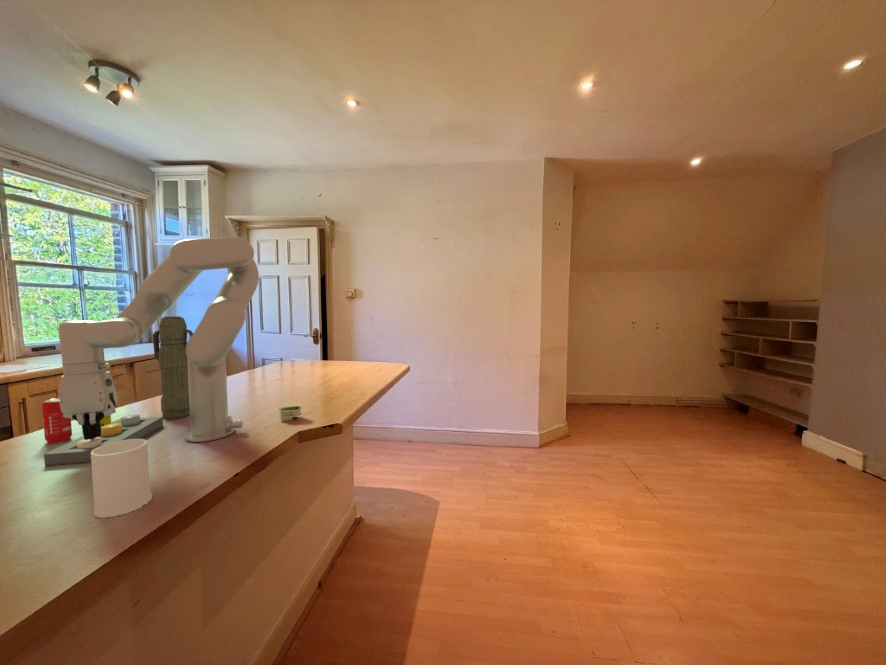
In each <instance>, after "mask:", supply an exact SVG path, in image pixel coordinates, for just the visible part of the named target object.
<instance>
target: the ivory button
mask: <svg viewBox="0 0 886 665" xmlns="http://www.w3.org/2000/svg"><path fill="white" fill-rule="evenodd" d="M100 444H102V441H101V438H100V437H96V438H94V439H91V440H90V439H88V440H81V441H78V442H77V448H78V449H80V448H94V447H96V446H98V445H100Z"/></svg>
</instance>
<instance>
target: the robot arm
mask: <svg viewBox="0 0 886 665" xmlns="http://www.w3.org/2000/svg"><path fill="white" fill-rule="evenodd" d="M254 257H255V250H254V248H253V246H252V244H251V243H250V242H249V241H248V240H246V239H244V238H241V237H239V236H223V237H221V236H220V237H207V238H206V237H205V238H189V239H183V240H179V241H176V242H175V243H173V245H172V246H171V247H170V250H169V254H167V256H166V257H164V259H163V260H162V261H161V262H160V263H159V265H157V267H156V268H155V269H153V270H152V271H151V272H150V274H148V275H147V276H146V278H144V280H143V281H142V283H141V284H140V286H139V287H138V291H137V292H136V295H135V296H134V298H132V301H131V302H130V303H129V304H128V305H127V306H126V307H125V308H124V309H123V310H122V311H121V312H120V313H119V314H118V316H116V317H115V318H114V319H108V320H107V319H106V320H100V321H97V320H92V319H90V320H89V319H87V320H86V319H85V320H84V319H83V320H80V319H79V320H66V321H63V322H62V321H61V323H59V325H58V326H57V327H58V329H57V330H58V339H59V347H60V356H61V363H62V371H63V372H62V373H63V375H61V377H60V380H59V386H58V388H59V390H58V398H59V402H60V409H61V411H62V412H63V417H65V418H71V419H73V420H75V421H76V422H77V423H78V425H80V426H81V429H82V436H84V440H88V439H90V440H91V439H94V438H96V437H98V436H100V435H101V424H100V421H101V420H103V418H104V417H105V416H107V415H114V414H115V413H116V412H117V410H116V408H115V407H117V406H118V404H119V399H118V397H119V396H118V392H117V388H116V385H115V381H114V378H113V375H112V373H111V371H109V370H107V369H110V368H111V363H109V362H106V359H105V350H104V348H113V349H114V348H115V349H116V348H119V349H120V348H125V347H130V346H132V345H133V344H135V343H137V342H138V341H139V340H140V339H141V338H142V337H143V336H144V335H145V334H146V333H147V332H148V331H149V330H150V328H151V327H152V326H153V325H154V324H155V323H156V321H157V320H159V319H160V317H162V315H163V314H164V312H166V310H168V309H169V308H170V307H171V306H173V305H174V303H176V301H177V300H178V299H179V298H180V296H182V294H183V293H184V292H185V291H186V290H187V289H188V287H189V286H190V285H191V284H192V283H193V282H194V281H195V280H196V279H197V278H198V276H199V275H201V273H202V272H203V271H209V270H219V269H220V270H221V269H227V276H226V278H225V279H224V282H223V283H222V286H221V288H220V289H219V291H218V293H217V294H216V296H215V297H214V299H213V301H212V302H211V303H210V304H209V305H208V307H207V309H206V311H205V312H204V315H203V317H202V318H201V320H200V322H199V323H198V325H197V327H196V329H195V330H194V331H193V335H192V336H191V337H189V338H188V339H187V345H186V355H187V362H188V382H189V405H190V416H189V422H190V424H189V425H190V430H188V431H186V432H185V434H184V440H185V441H187V442H190V443H191V442H193V443H199V442H200V443H201V442H210V441H215V440H218V439H223V438H225V437H228V436H229V435H231V434H233V433H234V432H235V429H241V428H243V427H244V422H243V420H242V419H236V420H234V419H232V418H233V416H232V415H229V408H228V407H229V405H228V403H229V402H228V381H227V380H228V378H227V377H228V376H227V374H228V373H227V358H226V356H227V354H228V353H229V351H230V350H231V348H232V346H233V344H234V343H235V341H236V339H237V338H238V335H239V333H240V332H241V329H242V328H243V326H244V324H245V322H246V310H247V307H248V306H249V304H250V303H251V300H252V299H253V296H254V294H255V292H256V290H257V287H258V286H259V285H258V284H259V282H260V276H259V274H260V273H259V269H258V265H257V263H256V261H255V259H254ZM105 410H106V411H105Z"/></svg>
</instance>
